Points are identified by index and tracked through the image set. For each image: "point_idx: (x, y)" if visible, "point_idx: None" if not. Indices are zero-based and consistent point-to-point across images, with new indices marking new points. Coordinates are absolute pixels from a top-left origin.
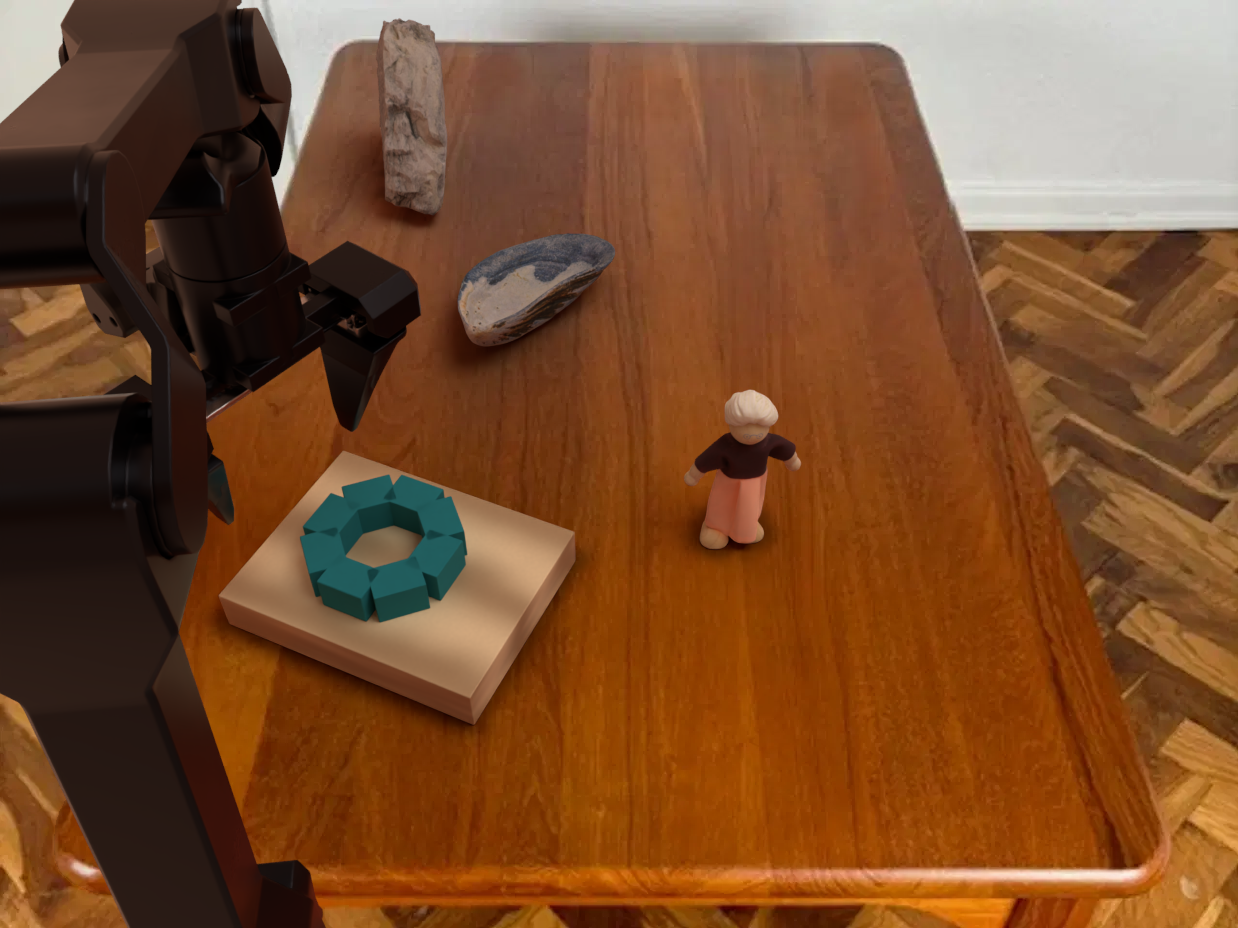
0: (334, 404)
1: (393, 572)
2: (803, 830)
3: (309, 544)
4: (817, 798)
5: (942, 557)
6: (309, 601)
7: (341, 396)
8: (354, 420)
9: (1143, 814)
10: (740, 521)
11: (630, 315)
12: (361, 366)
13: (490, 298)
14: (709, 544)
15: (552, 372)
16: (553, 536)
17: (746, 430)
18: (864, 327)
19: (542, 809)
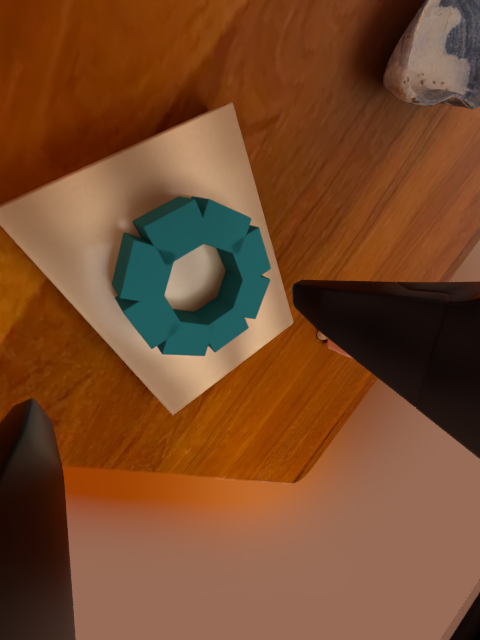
0: (324, 293)
1: (190, 334)
2: (243, 466)
3: (138, 258)
4: (255, 456)
5: (355, 376)
6: (103, 286)
7: (348, 320)
8: (316, 327)
9: (309, 470)
10: (340, 352)
11: (426, 141)
12: (439, 408)
13: (425, 19)
14: (319, 337)
15: (374, 146)
16: (284, 320)
17: None
18: (440, 251)
19: (164, 446)
